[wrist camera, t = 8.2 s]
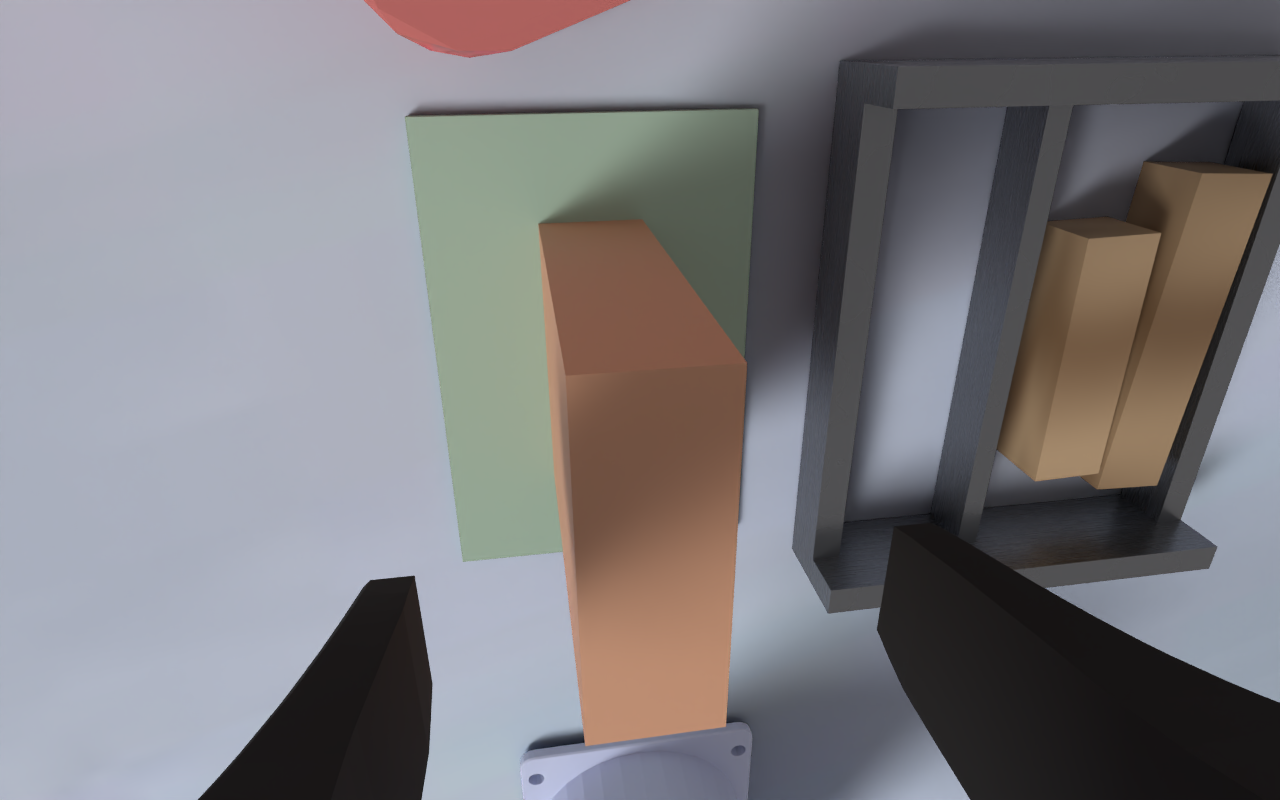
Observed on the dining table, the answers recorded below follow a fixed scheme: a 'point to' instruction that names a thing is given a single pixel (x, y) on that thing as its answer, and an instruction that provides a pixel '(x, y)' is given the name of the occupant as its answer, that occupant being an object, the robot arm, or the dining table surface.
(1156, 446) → the block
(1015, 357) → the rack
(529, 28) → the red flat case
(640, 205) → the mat
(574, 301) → the tall orange plank
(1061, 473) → the offcut short
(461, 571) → the dining table surface
